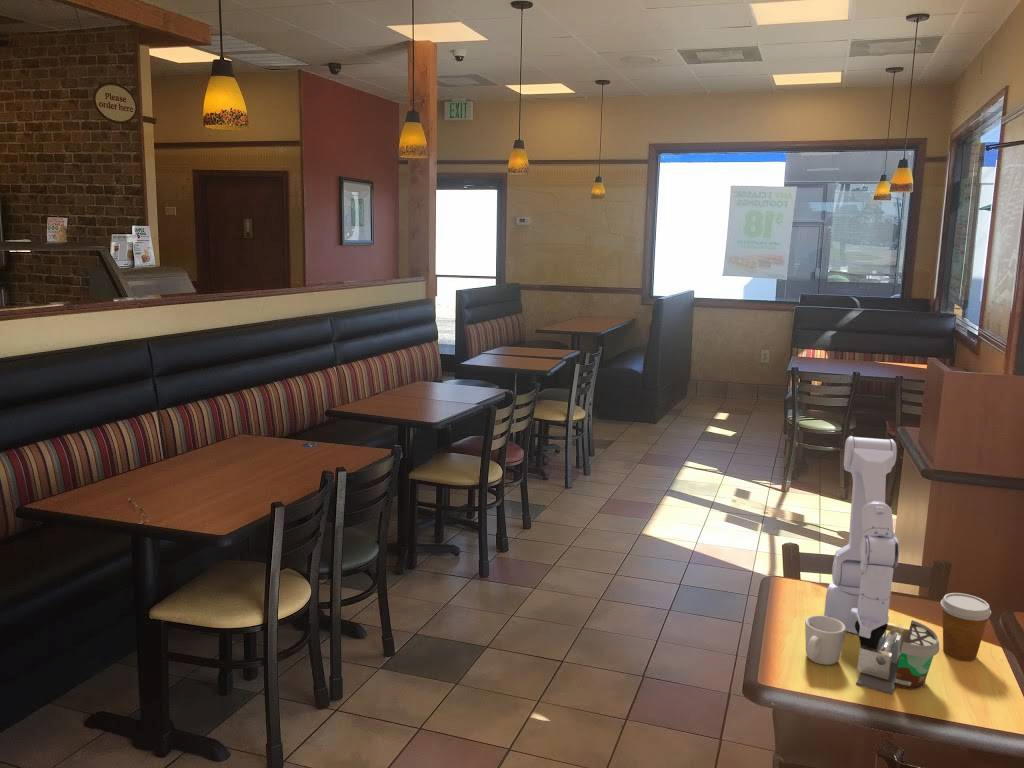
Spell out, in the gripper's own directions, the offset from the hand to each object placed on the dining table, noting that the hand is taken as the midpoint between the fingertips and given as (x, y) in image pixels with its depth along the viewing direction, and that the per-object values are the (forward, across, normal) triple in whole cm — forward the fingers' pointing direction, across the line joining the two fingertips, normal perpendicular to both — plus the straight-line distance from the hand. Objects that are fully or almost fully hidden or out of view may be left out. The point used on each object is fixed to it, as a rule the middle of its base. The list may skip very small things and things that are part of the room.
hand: (867, 656), depth 174 cm
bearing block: (+3, -8, +3) cm, 9 cm away
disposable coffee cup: (+3, -19, +15) cm, 25 cm away
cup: (+3, +2, -9) cm, 10 cm away
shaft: (+2, -4, +2) cm, 5 cm away
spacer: (-1, -10, +3) cm, 11 cm away
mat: (+3, -4, +3) cm, 6 cm away
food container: (+3, -1, +9) cm, 9 cm away
